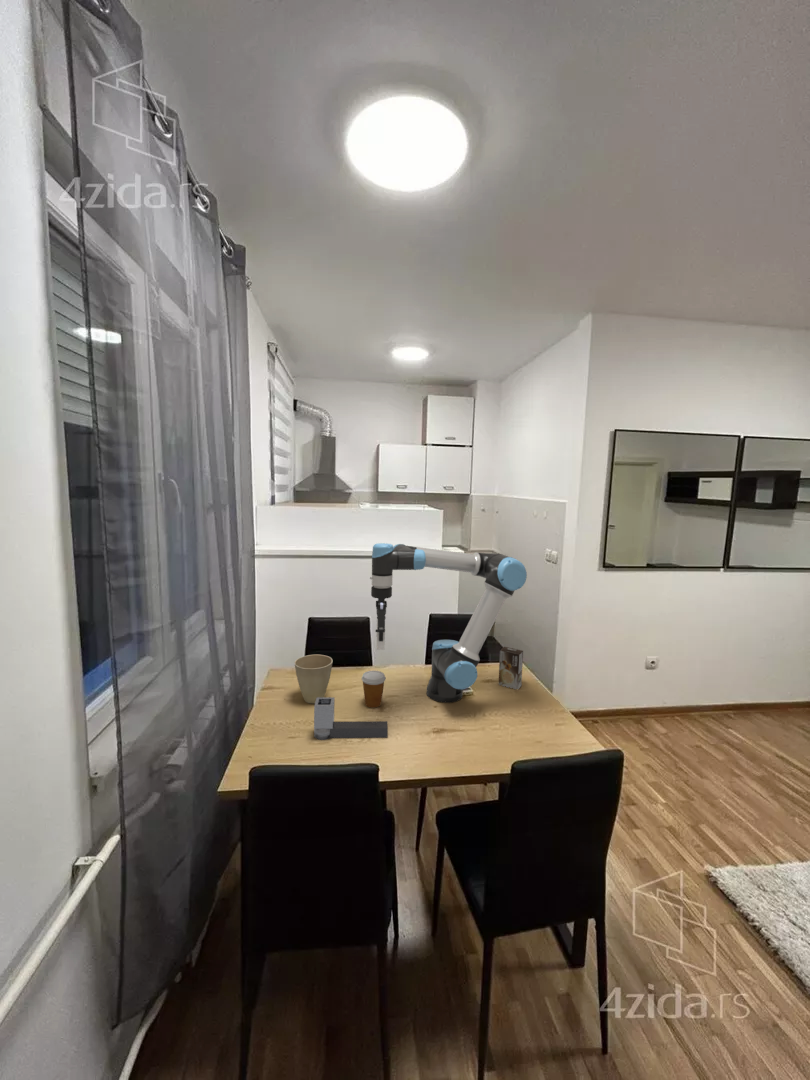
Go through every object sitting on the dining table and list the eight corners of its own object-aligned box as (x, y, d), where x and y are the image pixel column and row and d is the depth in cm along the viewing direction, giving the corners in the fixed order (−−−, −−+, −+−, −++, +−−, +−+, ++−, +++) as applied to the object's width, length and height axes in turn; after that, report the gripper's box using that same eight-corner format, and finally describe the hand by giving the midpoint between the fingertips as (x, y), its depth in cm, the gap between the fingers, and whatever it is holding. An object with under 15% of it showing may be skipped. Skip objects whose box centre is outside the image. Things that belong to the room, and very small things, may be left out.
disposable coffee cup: (381, 711, 168) (382, 681, 167) (357, 708, 170) (358, 678, 169) (387, 699, 177) (388, 671, 176) (364, 697, 179) (365, 668, 178)
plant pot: (326, 688, 186) (327, 652, 184) (336, 704, 172) (337, 665, 171) (291, 694, 179) (291, 657, 178) (298, 711, 166) (298, 671, 164)
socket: (334, 719, 154) (334, 697, 153) (332, 728, 148) (332, 706, 147) (316, 719, 153) (316, 697, 152) (314, 728, 147) (314, 706, 146)
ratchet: (386, 729, 156) (387, 702, 154) (387, 739, 149) (388, 711, 148) (315, 730, 154) (315, 702, 153) (312, 740, 147) (313, 712, 146)
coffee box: (522, 685, 195) (524, 650, 194) (517, 690, 190) (520, 654, 188) (502, 680, 200) (504, 646, 198) (497, 685, 195) (499, 650, 193)
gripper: (371, 579, 171) (370, 631, 173) (371, 593, 146) (369, 655, 148) (390, 579, 171) (389, 631, 173) (393, 594, 146) (391, 655, 149)
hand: (380, 642), depth 161 cm, fingers open, 13 cm apart
